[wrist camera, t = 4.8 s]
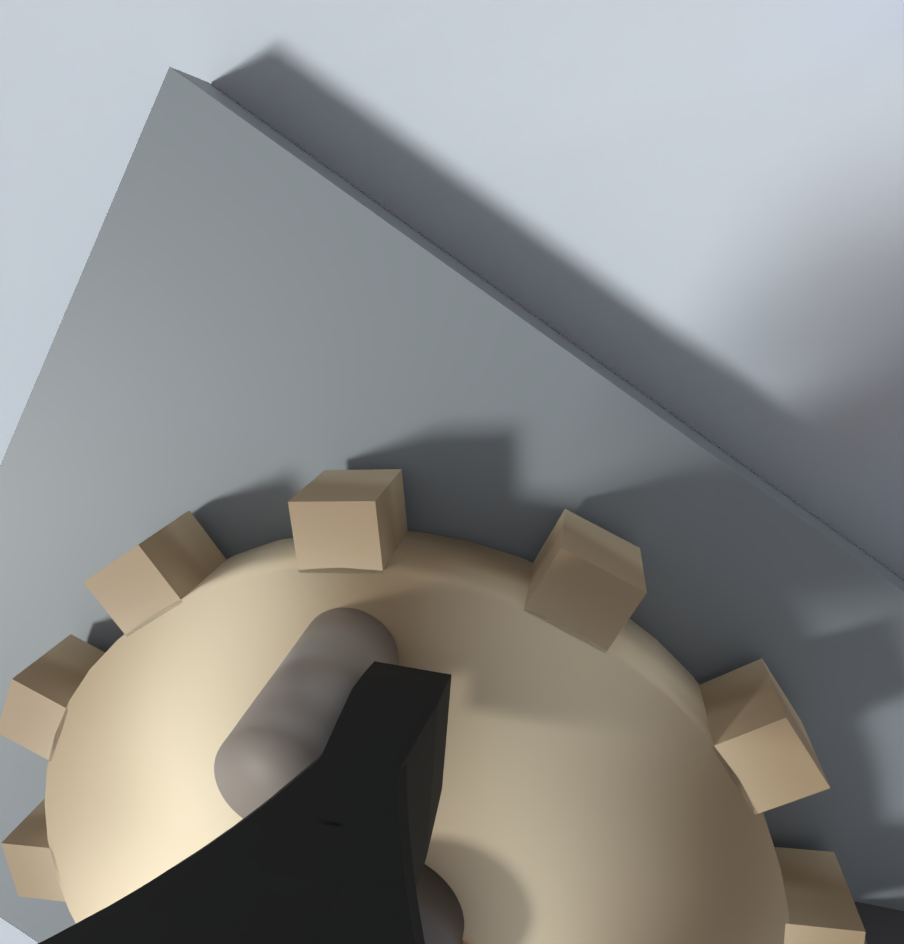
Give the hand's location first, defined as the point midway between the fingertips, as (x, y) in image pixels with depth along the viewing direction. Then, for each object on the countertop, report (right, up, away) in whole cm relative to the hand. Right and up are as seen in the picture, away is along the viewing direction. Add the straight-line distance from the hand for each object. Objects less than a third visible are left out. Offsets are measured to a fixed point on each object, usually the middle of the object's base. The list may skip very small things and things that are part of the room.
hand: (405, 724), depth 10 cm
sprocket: (0, -4, +4) cm, 6 cm away
